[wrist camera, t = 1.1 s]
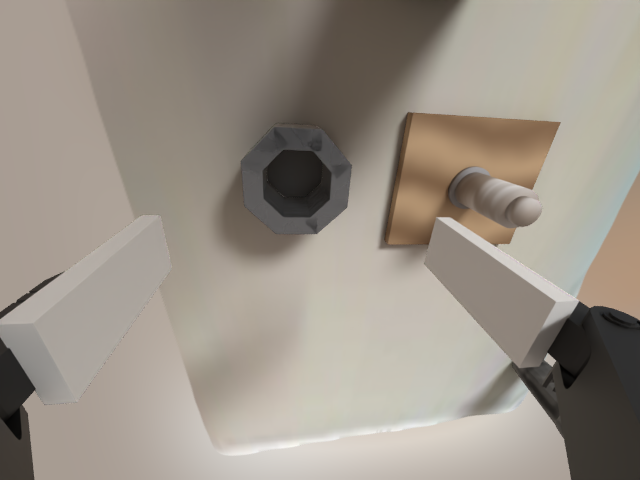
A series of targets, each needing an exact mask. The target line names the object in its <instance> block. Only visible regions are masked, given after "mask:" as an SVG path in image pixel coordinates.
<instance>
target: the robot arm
mask: <svg viewBox="0 0 640 480" xmlns="http://www.w3.org/2000/svg"><path fill="white" fill-rule="evenodd" d="M424 264H425V265H426V266H427V268H428V269H429V270H430V271H431V272H432V273H433V274H434V275H435V276H436V277H437V279H438V280H439V281H440V282H441V283H442V284H443V285H444V286H445V287H446V288H447V290H448V291H449V292H450V293H451V294H452V295H453V296H454V297H455V298H456V299H457V301H458V302H459V303H460V304H461V305H462V306H463V307H464V308H465V309H466V310H467V312H468V313H469V314H470V315H471V316H472V317H473V318H474V319H475V320H476V321H477V323H478V324H479V325H480V326H481V327H482V328H483V329H484V330H485V331H486V332H487V333H488V335H489V336H490V337H491V338H492V339H493V340H494V341H495V342H496V343H497V344H498V346H499V347H500V348H501V349H502V350H503V351H504V352H505V353H506V354H507V355H508V357H509V358H510V359H511V360H512V361H513V362H514V363H515V364H516V365H517V366H518V368H526V367H539V366H540V365H541V363H542V361H543V360H544V358H545V356H546V355H547V353H549V354H550V355H551V356H552V357H553V358H554V359H555V360H556V362H555V364H554V365H553V367H552V368H551V370H550V372H549V373H548V375H547V376H546V378H545V379H544V381H543V384H542V387H545V388H547V386H548V384H549V383H552V382H553V383H554V385H555V387H554V388H553V389H552V391H554V392H556V396H557V402H558V407H559V413H560V419H561V424H562V430H563V435H564V441H565V446H566V452H567V458H568V463H569V469H570V475H571V480H640V320H638V319H636V318H634V317H632V316H630V315H628V314H626V313H624V312H621V311H618V310H615V309H612V308H608V307H603V306H594V307H591V308H588V307H587V306H586V305H584V304H583V303H581V302H580V301H579V300H577V299H576V298H574V297H573V296H571V295H569V294H568V293H566V292H565V291H563V290H562V289H560V288H559V287H557V286H556V285H554V284H552V283H551V282H549V281H548V280H546V279H545V278H543V277H542V276H540V275H539V274H537V273H535V272H534V271H532V270H531V269H529V268H528V267H526V266H525V265H523V264H521V263H520V262H518V261H517V260H515V259H514V258H512V257H511V256H509V255H508V254H506V253H504V252H503V251H501V250H500V249H498V248H497V247H495V246H494V245H492V244H491V243H489V242H487V241H486V240H484V239H483V238H481V237H480V236H478V235H477V234H475V233H474V232H472V231H470V230H469V229H467V228H466V227H464V226H463V225H461V224H460V223H458V222H456V221H455V220H453V219H452V218H450V217H436V220H435V224H434V228H433V231H432V235H431V239H430V243H429V247H428V250H427V254H426V258H425V262H424ZM171 269H172V265H171V260H170V256H169V251H168V247H167V242H166V238H165V233H164V229H163V224H162V220H161V216H160V215H141V216H140V217H138V218H137V219H136V220H134V221H133V222H132V223H130V224H129V225H128V226H126V227H125V228H124V229H122V230H121V231H119V232H118V233H117V234H115V235H114V236H113V237H111V238H110V239H108V241H106V242H104V243H103V244H102V245H100V246H99V247H98V248H96V249H95V250H94V251H92V252H91V253H89V254H88V255H87V256H85V257H84V258H83V259H81V260H80V261H79V262H77V263H76V264H75V265H73V266H72V267H71V268H69V269H68V270H66V271H65V272H62V273H60V274H58V275H56V276H54V277H51V278H49V279H47V280H45V281H43V282H42V283H41V284H39V285H38V286H36V287H35V288H33V289H32V290H31V291H29V292H30V293H28V294H25V295H24V296H22V297H21V298H20V299H18V300H17V302H16V303H12V304H11V305H10V306H8V307H7V308H5V309H4V310H3V311H1V312H0V480H34V472H33V462H32V452H31V442H30V432H29V422H28V413H27V412H26V411H25V408H24V407H23V406H22V404H23V403H24V402H25V401H26V399H27V398H28V397H29V396H30V395H31V394H32V393H33V391H34V390H35V391H36V393H37V395H38V396H39V398H40V399H41V401H42V402H43V404H44V405H52V404H64V403H76V402H78V400H79V399H80V398H81V396H82V395H83V393H84V392H85V390H86V389H87V388H88V386H89V384H91V382H92V381H93V379H94V378H95V376H96V375H97V374H98V372H99V371H100V369H101V368H102V367H103V365H104V364H105V362H106V361H107V360H108V358H109V357H110V355H111V354H112V352H113V351H114V350H115V348H116V347H117V345H118V344H119V343H120V341H121V340H122V338H123V337H124V336H125V334H126V333H127V331H128V330H129V328H130V327H131V326H132V324H133V323H134V321H135V320H136V319H137V317H138V316H139V314H140V313H141V312H142V310H143V309H144V307H145V306H146V304H147V303H148V301H149V300H150V298H151V297H152V296H153V295H154V293H155V292H156V290H157V289H158V288H159V286H160V285H161V283H162V282H163V280H164V279H165V278H166V276H167V275H168V273H169V272H170V271H171Z"/></svg>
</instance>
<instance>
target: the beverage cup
mask: <svg viewBox="0 0 640 480" xmlns="http://www.w3.org/2000/svg"><path fill="white" fill-rule="evenodd" d="M512 367H513V368H514V369H515V371H516V372H517V374H518V376H519V377H520V378H521V380H522V381H523V382H524V384H525V385H526V386H527V388H528V389H529V390H530V391H531V393H532V394H533V396H534V397H535V398H536V399H537V401H538V402H539V403H540V405H541V406H542V407H543V409H544V410H545V411H546V413H547V414H548V415H549V417H550V418H551V419H552V421H553V422H554V423H555V425H556V427H557V429H558V431H559V432H560V434H561V435H562V437H563V438H564V435H563V430H562V424H561V419H560V413H559V407H558V402H557V396H556V392H554V391H552V389H553V388H554V387H555V385H554V383H553V382H552V383H549V384H548V386H547V388H545V387H542V384H543V381H544V379H545V378H546V376H547V375H548V373H549V372H550V370H551V368H552V367H551V366H550V365H549V364H548V363H547V362H545V361H544V360H543V361H542V363H541V365H540V366H539V367H526V368H518V366H517V365H516V364H515V363H514V362H512Z"/></svg>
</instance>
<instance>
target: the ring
mask: <svg viewBox="0 0 640 480" xmlns="http://www.w3.org/2000/svg"><path fill="white" fill-rule="evenodd" d="M282 150H300V151H313V152H314V153H315V154H316V155H317V156H318V157H319V159H320V160H321V161H322V178H321V183H320V184H319V185H318V186H317V187H316V188H315V189H314V190H313V191H311V192H310V193H309V194H308V195H307V196H306V197H283V196H282V195H281V194H280V193H279V192H278V191H277V190H276V189H275V188H274V187H273V186H272V185H271V184H270V183H269V182H268V177H267V165H268V164H269V163H270V162H271V161H272V160H273V159H274V158H275V157H276V156H277V155H278V154H279V153H280V152H281V151H282ZM351 168H352V165H351V164H350V162H349V161H348V160H347V159H346V157H345V156H344V155H343V154H342V153H341V151H340V150H339V149H338V148H337V146H336V145H335V144H334V143H333V142H332V140H331V139H330V138H329V137H328V135H327V134H326V133H325V132H324V131H323V129H321V128H319V127H317V126H315V125H305V124H287V123H276V124H275V125H274V126H273V127H272V128H271V129H270V130H269V131H268V132H267V133H266V134H265V135H264V136H263V137H262V138H261V139H260V140H259V141H258V142H257V143H256V145H255V146H254V147H253V148H252V149H251V150H250V151H249V152H248V153H247V154H246V156H245V157H244V158H243V159H242V161H241V169H242V182H243V196H244V206H245V207H246V208H247V209H248V210H249V211H250V212H252V213H253V214H254V215H255V216H256V217H257V218H258V219H260V220H261V221H262V222H263V223H264V224H265V225H266V226H268V227H269V228H270V229H271V230H272V231H273V232H274V233H275V234H317V233H318V232H320V231H321V230H322V229H323V228H324V227H325V226H326V225H328V224H329V223H330V222H331V221H332V220H333V219H335V218H336V217H337V216H338V215H339V214H340V213H341V212H343V211H344V210H345V209H346V208H347V205H348V196H349V187H350V177H351Z"/></svg>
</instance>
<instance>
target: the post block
mask: <svg viewBox="0 0 640 480" xmlns="http://www.w3.org/2000/svg"><path fill="white" fill-rule="evenodd" d="M560 123H561V122H548V121H532V120H517V119H502V118H487V117H471V116H456V115H441V114H425V113H408V115H407V121H406V126H405V131H404V137H403V142H402V148H401V153H400V159H399V164H398V169H397V175H396V180H395V186H394V191H393V197H392V202H391V207H390V213H389V218H388V224H387V229H386V234H385V241H386V243H387V244H429V243H430V239H431V235H432V231H433V228H434V224H435V220H436V217H450V218H452V219H453V220H455V221H456V222H458V223H460V224H461V225H463V226H464V227H466V228H467V229H469V230H470V231H472V232H474V233H475V234H477V235H478V236H480V237H481V238H483V239H484V240H486V241H487V242H489V243H491V244H510V241H511V239H512V237H513V234H514V232H515V229H516V227H519V226H520V227H524V226H528V225H530V224H532V223H533V222H535V221H536V220H537V219H538V217H539V216H540V214H541V212H542V204H541V202H540V201H539V198H538V195H537V193H536V192H535V191H533V190H532V189H533V187H534V184H535V182H536V180H537V177H538V175H539V173H540V170H541V168H542V165H543V163H544V161H545V158H546V156H547V154H548V151H549V149H550V146H551V144H552V142H553V139H554V137H555V135H556V132H557V130H558V128H559V125H560Z"/></svg>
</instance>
